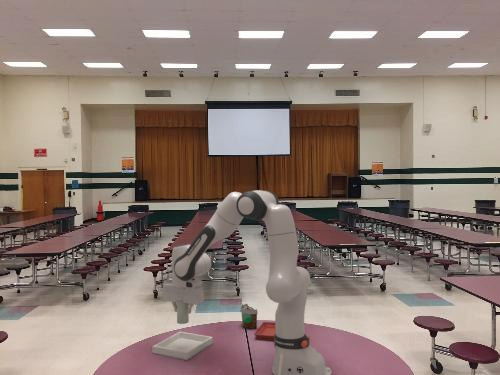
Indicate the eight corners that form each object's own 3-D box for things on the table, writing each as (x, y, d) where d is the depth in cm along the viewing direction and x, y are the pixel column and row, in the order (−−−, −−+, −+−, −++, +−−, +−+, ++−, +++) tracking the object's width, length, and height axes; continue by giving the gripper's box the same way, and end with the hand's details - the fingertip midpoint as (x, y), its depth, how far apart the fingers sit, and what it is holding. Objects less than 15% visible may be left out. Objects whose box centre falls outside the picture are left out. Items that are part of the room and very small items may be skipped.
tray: (213, 343, 194) (212, 337, 194) (187, 360, 176) (187, 353, 176) (180, 337, 202) (180, 331, 202) (152, 353, 184) (152, 346, 184)
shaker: (190, 321, 190) (190, 294, 190) (184, 324, 186) (183, 297, 186) (181, 319, 193) (181, 293, 193) (174, 322, 188) (174, 296, 188)
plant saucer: (253, 340, 198) (253, 333, 198) (263, 328, 215) (263, 321, 215) (292, 344, 193) (292, 336, 193) (299, 330, 210) (299, 324, 210)
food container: (236, 324, 220) (236, 305, 220) (247, 322, 223) (247, 303, 223) (246, 331, 209) (246, 311, 209) (257, 329, 211) (257, 309, 211)
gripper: (158, 280, 191) (159, 311, 191) (197, 284, 182) (197, 317, 182) (167, 277, 197) (168, 307, 197) (205, 281, 187) (206, 313, 188)
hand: (182, 312), depth 189 cm, fingers closed on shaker, 5 cm apart
